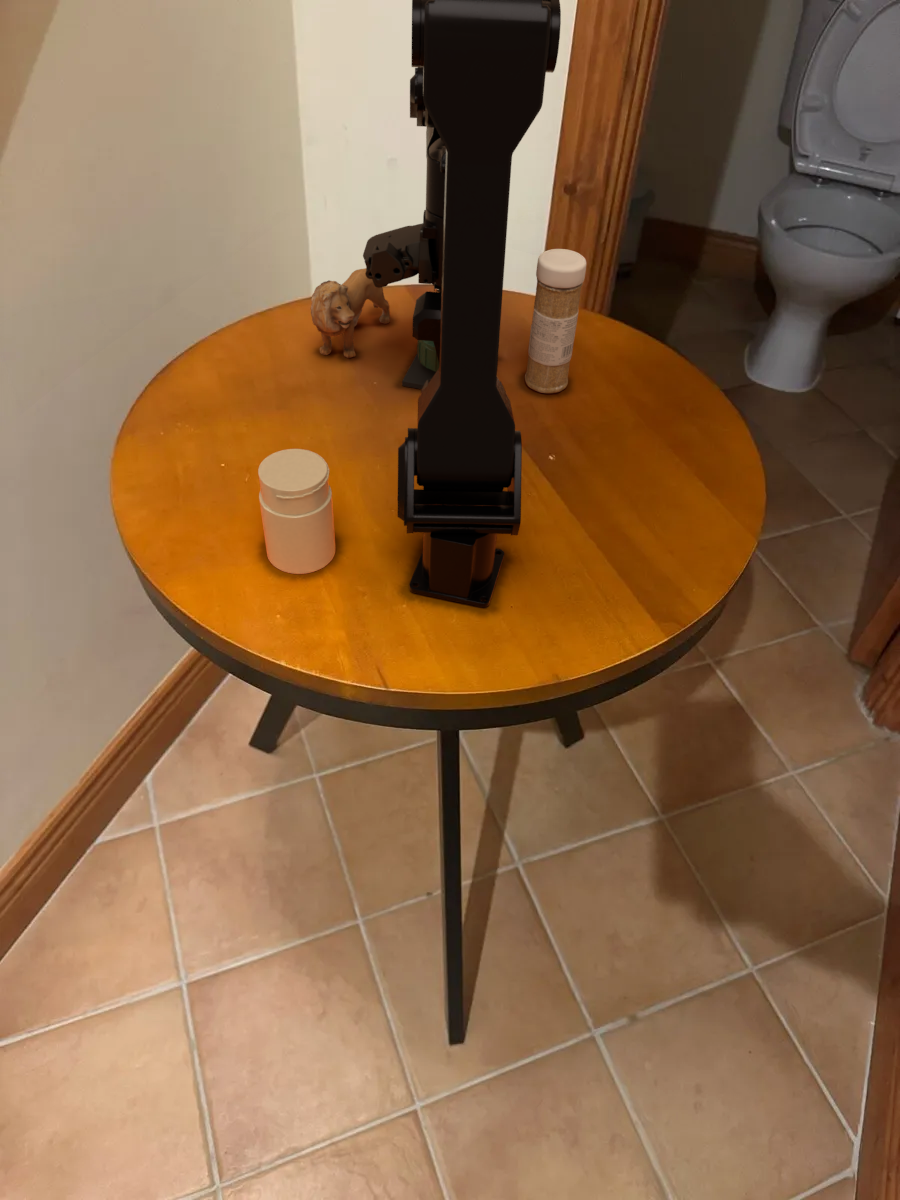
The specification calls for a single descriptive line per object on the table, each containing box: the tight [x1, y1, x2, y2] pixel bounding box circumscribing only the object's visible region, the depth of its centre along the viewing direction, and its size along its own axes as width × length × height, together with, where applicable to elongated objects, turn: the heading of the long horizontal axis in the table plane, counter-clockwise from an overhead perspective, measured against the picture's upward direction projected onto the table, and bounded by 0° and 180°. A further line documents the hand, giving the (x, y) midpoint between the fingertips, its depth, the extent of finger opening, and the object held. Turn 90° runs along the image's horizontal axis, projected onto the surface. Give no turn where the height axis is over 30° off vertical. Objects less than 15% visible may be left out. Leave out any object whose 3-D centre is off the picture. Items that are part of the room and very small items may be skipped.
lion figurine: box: [310, 267, 391, 359], centre depth 95 cm, size 15×5×9 cm, turn 164°
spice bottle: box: [524, 248, 587, 394], centre depth 89 cm, size 5×5×13 cm
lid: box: [416, 340, 439, 372], centre depth 92 cm, size 6×6×3 cm
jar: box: [257, 448, 337, 575], centre depth 71 cm, size 6×6×8 cm
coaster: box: [401, 353, 436, 390], centre depth 94 cm, size 8×8×1 cm
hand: (450, 359), depth 93 cm, fingers closed on lid, 6 cm apart
